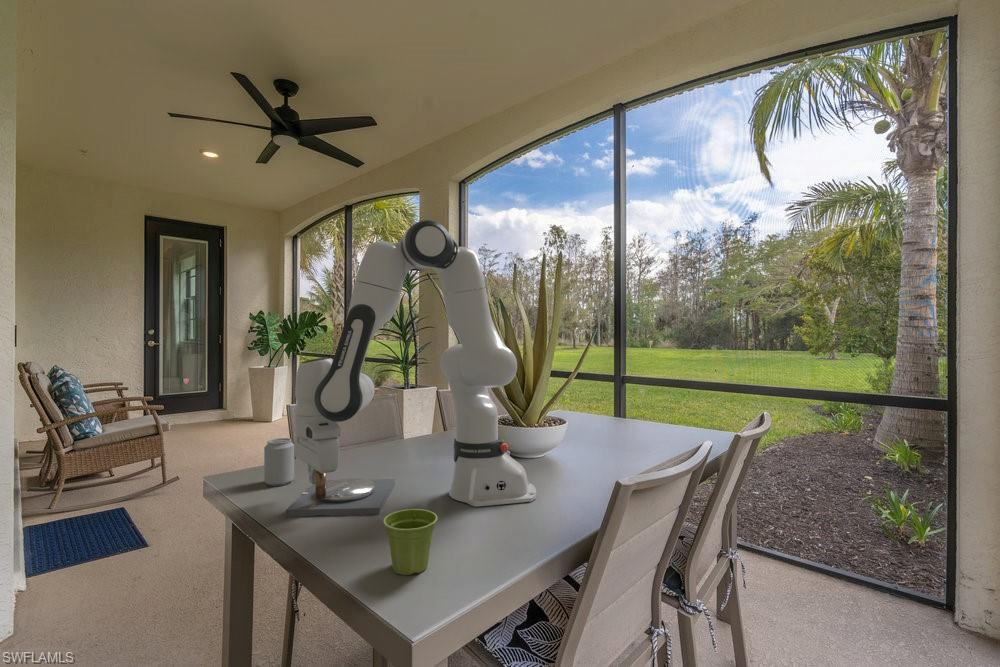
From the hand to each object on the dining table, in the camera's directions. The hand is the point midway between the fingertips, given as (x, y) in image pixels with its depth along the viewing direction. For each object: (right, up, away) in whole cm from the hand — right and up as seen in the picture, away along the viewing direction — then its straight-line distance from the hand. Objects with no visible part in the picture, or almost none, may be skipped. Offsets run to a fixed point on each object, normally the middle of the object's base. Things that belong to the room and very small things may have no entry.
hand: (314, 483), depth 110 cm
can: (-17, -6, +18) cm, 25 cm away
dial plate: (+6, -6, +5) cm, 10 cm away
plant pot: (+29, -6, -28) cm, 41 cm away
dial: (+5, -4, +4) cm, 8 cm away
